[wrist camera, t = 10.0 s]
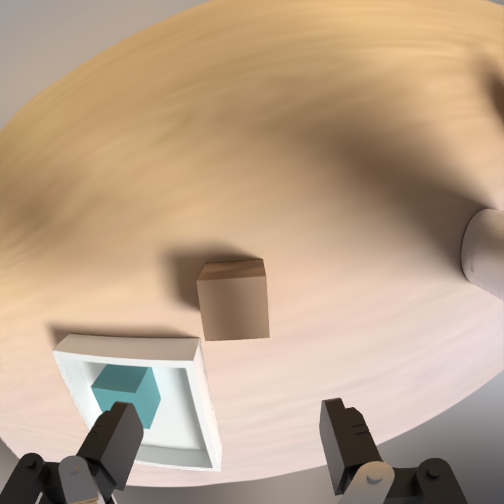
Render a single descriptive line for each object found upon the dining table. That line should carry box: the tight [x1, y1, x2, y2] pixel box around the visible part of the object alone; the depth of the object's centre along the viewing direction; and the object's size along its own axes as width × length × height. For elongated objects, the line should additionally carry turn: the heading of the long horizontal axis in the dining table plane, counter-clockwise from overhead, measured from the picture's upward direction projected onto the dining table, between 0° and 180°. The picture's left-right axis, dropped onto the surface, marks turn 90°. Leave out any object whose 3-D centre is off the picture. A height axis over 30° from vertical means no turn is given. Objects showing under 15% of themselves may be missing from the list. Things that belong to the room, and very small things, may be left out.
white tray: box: [52, 334, 222, 471], centre depth 27 cm, size 16×18×4 cm
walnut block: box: [196, 259, 270, 341], centre depth 23 cm, size 5×5×5 cm
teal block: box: [91, 364, 161, 429], centre depth 24 cm, size 5×5×5 cm
